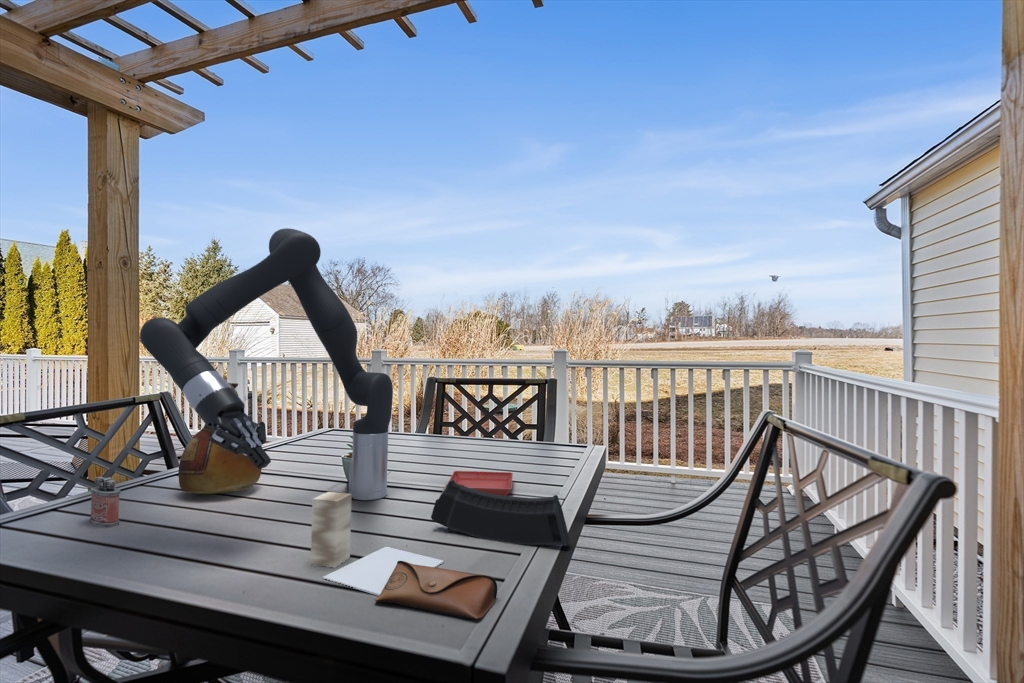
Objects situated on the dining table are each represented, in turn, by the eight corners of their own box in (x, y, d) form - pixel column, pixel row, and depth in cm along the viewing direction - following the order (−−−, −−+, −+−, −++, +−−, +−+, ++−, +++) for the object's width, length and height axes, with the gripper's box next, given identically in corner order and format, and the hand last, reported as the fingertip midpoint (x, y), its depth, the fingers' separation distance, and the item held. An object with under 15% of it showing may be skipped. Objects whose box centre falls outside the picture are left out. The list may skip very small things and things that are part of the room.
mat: (322, 578, 88) (322, 577, 88) (385, 548, 102) (385, 546, 102) (386, 598, 82) (386, 596, 82) (444, 562, 96) (444, 560, 96)
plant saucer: (511, 500, 139) (512, 487, 139) (445, 498, 139) (445, 486, 139) (512, 483, 157) (512, 472, 157) (453, 481, 157) (453, 470, 157)
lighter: (123, 524, 113) (125, 478, 113) (106, 528, 110) (107, 481, 110) (102, 518, 116) (104, 474, 117) (85, 522, 113) (86, 477, 113)
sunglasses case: (370, 600, 79) (383, 554, 82) (388, 605, 85) (399, 562, 88) (481, 620, 74) (490, 571, 78) (492, 624, 80) (500, 578, 83)
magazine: (582, 503, 104) (456, 449, 114) (579, 508, 101) (449, 451, 111) (557, 581, 106) (434, 520, 116) (553, 587, 103) (427, 525, 113)
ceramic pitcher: (239, 479, 153) (242, 379, 153) (275, 491, 141) (278, 382, 142) (164, 493, 137) (168, 381, 137) (198, 508, 125) (202, 385, 126)
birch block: (310, 565, 93) (312, 498, 94) (326, 554, 98) (327, 491, 99) (335, 568, 92) (337, 501, 93) (349, 557, 97) (351, 493, 98)
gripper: (198, 388, 95) (253, 459, 92) (249, 384, 108) (299, 446, 105) (173, 415, 96) (227, 486, 93) (227, 408, 109) (276, 470, 106)
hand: (265, 465), depth 99 cm, fingers closed
